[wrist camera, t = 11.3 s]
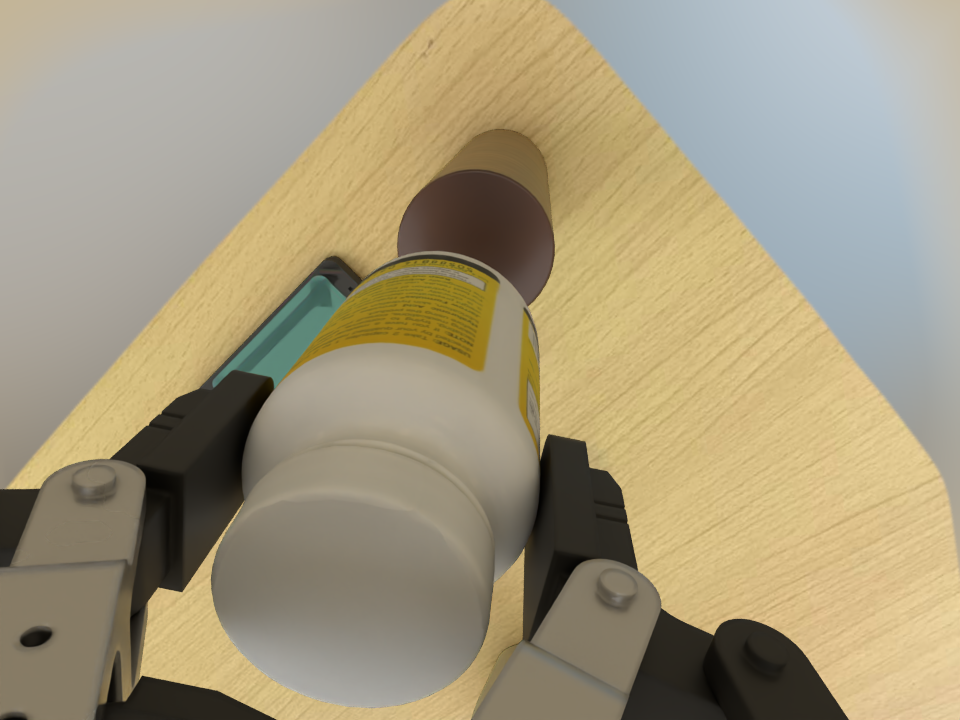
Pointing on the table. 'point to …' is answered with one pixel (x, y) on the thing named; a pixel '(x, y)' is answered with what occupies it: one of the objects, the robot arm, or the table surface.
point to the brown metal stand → (488, 211)
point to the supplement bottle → (388, 487)
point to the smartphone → (292, 324)
